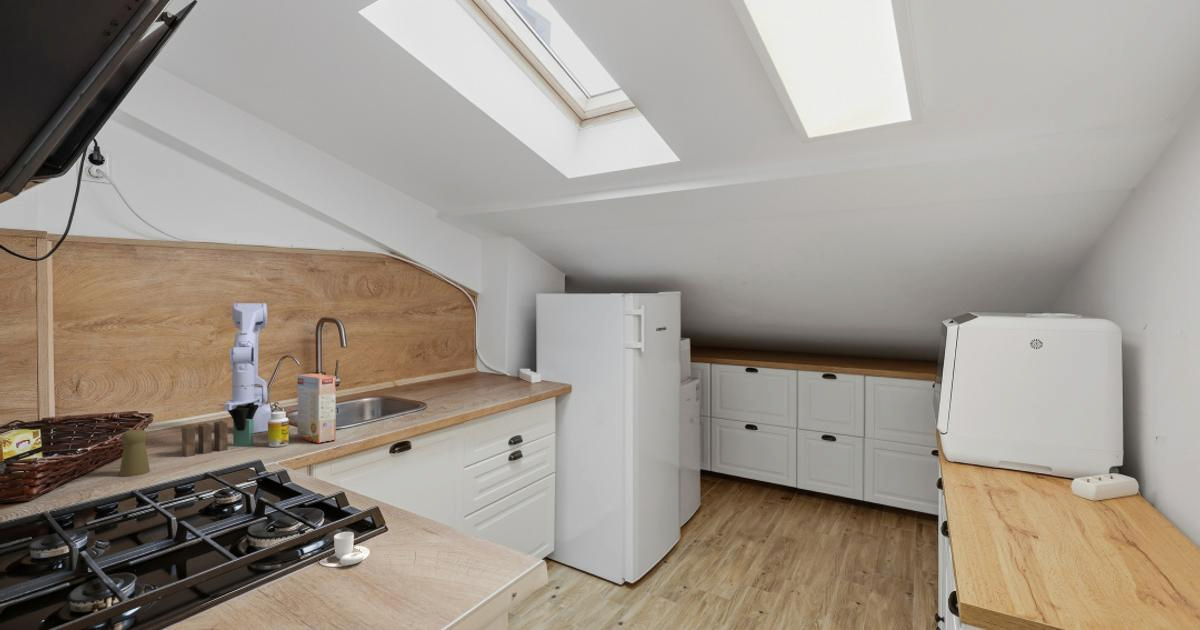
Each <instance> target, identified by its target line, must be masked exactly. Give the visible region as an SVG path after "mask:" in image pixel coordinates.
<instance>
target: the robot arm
mask: <svg viewBox="0 0 1200 630" xmlns="http://www.w3.org/2000/svg"><path fill="white" fill-rule="evenodd" d="M231 313H232V314H231V315H232V320H233V324H234V325H235V328H236V329H239V331H237V332H236V333H235V334H234V342H233V348H230V350H229V362H230V372H232V373H231V391H232V392H231V393H232V394H231V398H232V399H229V400H228V402H226V403H223V404H222V408H223V409H222V410H223V411H227V412H228V414H229V415H230V416H231V418H232V422H233V421H234V423H235V427H236V430H237V431H243V430H245V425H246V419H253V434H256V433H264V432H268V420H269V419H272V418H271V413H272V409H271V406H270V404H268V403H267V402H268V383H267V381H266V380H265V379H263V378H262V377H260V376H259V337H260V336H259V335H260V333H261V330H263V329H265V328H266V327H267V325H268V305H267V303H266V302H262V303H256V302H255V303H254V302H253V303H251V302H249V303H248V302H246V303H244V302H243V303H242V302H240V303H239V302H234V303H233V304H232V312H231Z"/></svg>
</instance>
